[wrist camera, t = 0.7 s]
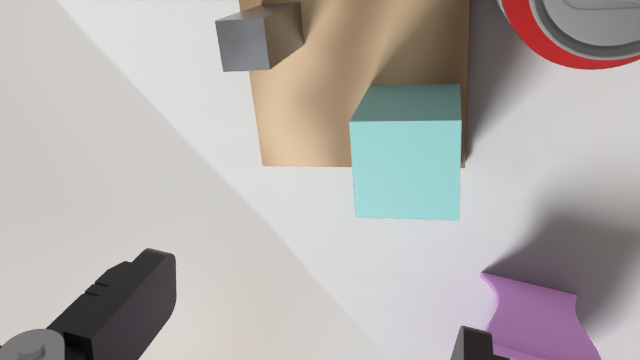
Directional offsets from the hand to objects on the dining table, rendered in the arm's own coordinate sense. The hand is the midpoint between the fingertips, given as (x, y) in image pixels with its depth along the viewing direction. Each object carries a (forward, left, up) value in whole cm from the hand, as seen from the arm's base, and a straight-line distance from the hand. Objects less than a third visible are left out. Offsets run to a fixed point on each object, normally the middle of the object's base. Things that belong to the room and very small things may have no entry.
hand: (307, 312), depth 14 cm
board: (+2, -2, -20) cm, 20 cm away
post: (+6, -5, -19) cm, 21 cm away
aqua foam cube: (-2, +1, -19) cm, 19 cm away
